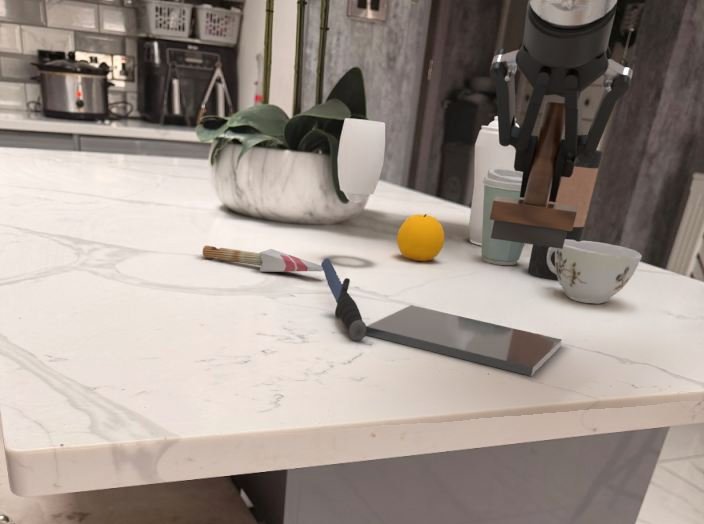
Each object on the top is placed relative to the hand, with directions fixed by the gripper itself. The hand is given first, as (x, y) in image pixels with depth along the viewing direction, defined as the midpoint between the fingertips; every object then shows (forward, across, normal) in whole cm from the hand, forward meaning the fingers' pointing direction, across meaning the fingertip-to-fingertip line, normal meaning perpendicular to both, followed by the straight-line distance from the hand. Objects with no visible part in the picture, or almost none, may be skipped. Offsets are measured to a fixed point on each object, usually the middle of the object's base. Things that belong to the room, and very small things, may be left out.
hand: (540, 189), depth 88 cm
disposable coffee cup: (+47, -7, +22) cm, 52 cm away
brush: (+1, 0, -6) cm, 6 cm away
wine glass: (+31, -29, +7) cm, 43 cm away
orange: (+39, -20, +15) cm, 47 cm away
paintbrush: (+20, -38, -4) cm, 43 cm away
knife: (+7, -20, -13) cm, 25 cm away
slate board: (+7, -4, -17) cm, 19 cm away
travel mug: (+43, +2, +19) cm, 47 cm away
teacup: (+33, +8, +9) cm, 35 cm away
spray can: (+60, -12, +36) cm, 71 cm away
